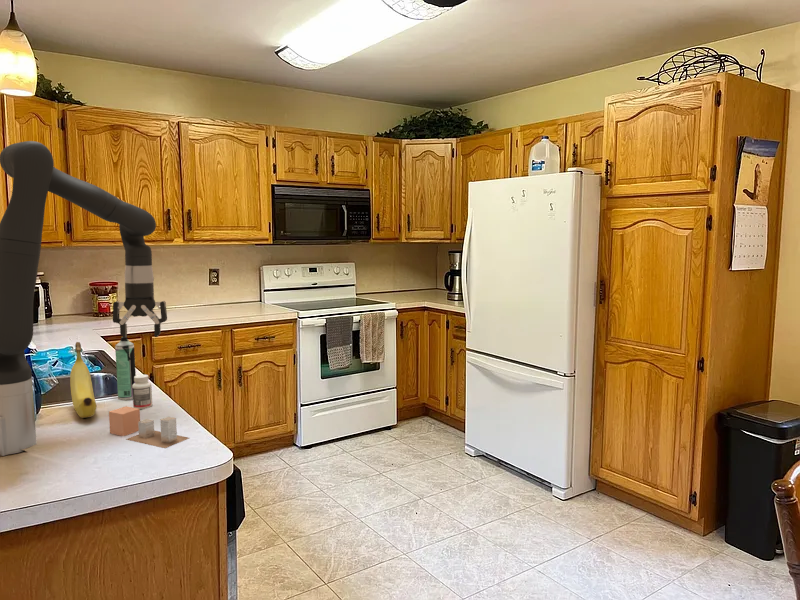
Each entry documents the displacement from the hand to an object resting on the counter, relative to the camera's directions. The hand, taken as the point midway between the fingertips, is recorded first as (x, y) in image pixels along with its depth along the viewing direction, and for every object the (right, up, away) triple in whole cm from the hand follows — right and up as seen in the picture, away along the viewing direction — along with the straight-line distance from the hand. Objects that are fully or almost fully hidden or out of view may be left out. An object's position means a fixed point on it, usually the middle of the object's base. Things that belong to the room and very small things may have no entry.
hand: (140, 336), depth 169 cm
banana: (-18, -23, +3) cm, 29 cm away
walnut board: (+13, -25, -20) cm, 35 cm away
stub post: (+10, -24, -19) cm, 32 cm away
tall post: (+17, -25, -22) cm, 37 cm away
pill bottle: (-3, -22, +9) cm, 24 cm away
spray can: (-13, -21, +19) cm, 31 cm away
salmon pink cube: (+3, -25, -15) cm, 29 cm away
